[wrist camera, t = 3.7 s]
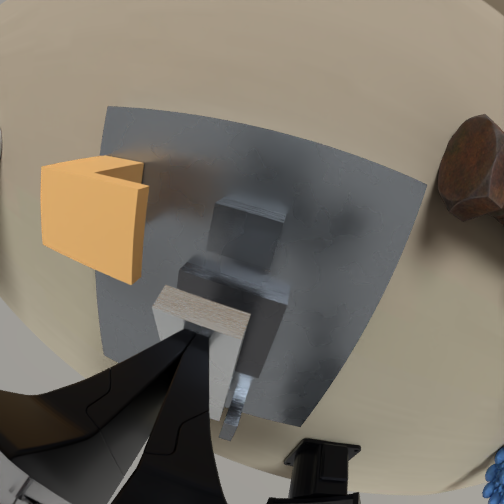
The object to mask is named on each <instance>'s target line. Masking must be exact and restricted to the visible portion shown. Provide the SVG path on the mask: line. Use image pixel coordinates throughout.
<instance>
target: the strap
mask: <svg viewBox="0 0 504 504" xmlns="http://www.w3.org/2000/svg"><path fill="white" fill-rule="evenodd" d="M152 310H153V314H154V318H155V322H156V326H157V330H158V334H159V337H160V341H162V340H164V339H166V338H167V337H169V336H171V335H173V334H175V333H177V332H178V331H180V330H182V329H184V328H185V329H188V330H190V331H193V332H195V333H196V334H197V333H198V334H201V335H204V336H207V337H209V338H210V352H209V413H210V418H211V419H214V420H216V421H220V418H221V415H222V412H223V409H224V406H225V403H226V399H227V396H228V392H229V389H230V385H231V382H232V378H233V375H234V372H235V368H236V365H237V361H238V358H239V354H240V351H241V347H242V343H243V340H244V336H245V333H246V329H247V326H248V322H249V319H250V315H251V314H250V313H247V312H243V311H240V310H237V309H234V308H231V307H228V306H225V305H222V304H219V303H216V302H213V301H210V300H207V299H204V298H202V297H199V296H196V295H193V294H190V293H187V292H185V291H182V290H179V289H176V288H174V287H171V286H168V285H165V286H164V288H163V289H162V291H161V293H160V294H159V296H158V298H157V299H156V301H155V303H154V304H153V306H152Z"/></svg>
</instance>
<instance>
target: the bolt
mask: <svg viewBox="0 0 504 504" xmlns="http://www.w3.org/2000/svg"><path fill="white" fill-rule="evenodd" d="M438 190H439V193H440V195H441V198H442V200H443V202H444V204H445V205H446V207H447V209H448V211H449V212H450V213H452V214H453V215H454V216H456V217H457V218H459V219H460V220H461V221H466V220H469V219H472V218H475V217H479V216H482V215H485V214H489V215H491V216H493V217H495V218H496V219H497V220H498V221H499V222H500V223H501V224H503V225H504V132H503V131H502V130H501V129H500V127H499V126H498V125H497V124H495V123H494V122H493V121H492V120H491V119H490V118H489V117H488V116H487V115H486V114H483V115H479V116H475V117H472V118H469V119H468V120H466V121H465V122H464V123H463V124H462V125H461V126H460V127H459V128H458V130H457V131H456V132H455V134H454V135H453V136H452V138H451V140H450V141H449V143H448V145H447V148H446V151H445V153H444V155H443V157H442V160H441V163H440V168H439V175H438Z"/></svg>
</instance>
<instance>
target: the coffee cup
mask: <svg viewBox="0 0 504 504" xmlns="http://www.w3.org/2000/svg"><path fill="white" fill-rule="evenodd" d="M1 150H2V135H1V129H0V158H1Z"/></svg>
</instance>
